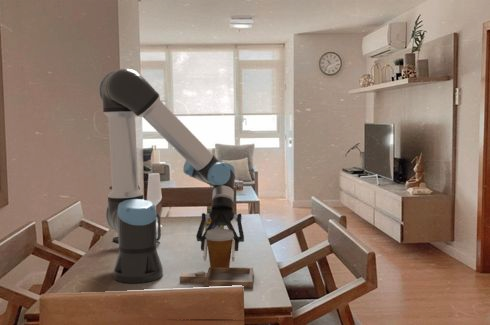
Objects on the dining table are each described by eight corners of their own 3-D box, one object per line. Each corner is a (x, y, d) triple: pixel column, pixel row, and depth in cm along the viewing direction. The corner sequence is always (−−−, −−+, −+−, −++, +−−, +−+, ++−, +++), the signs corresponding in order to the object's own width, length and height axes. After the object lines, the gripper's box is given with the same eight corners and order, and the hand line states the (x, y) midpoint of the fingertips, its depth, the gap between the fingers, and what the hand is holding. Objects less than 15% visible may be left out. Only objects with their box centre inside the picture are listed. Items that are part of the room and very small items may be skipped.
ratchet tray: (176, 287, 154) (176, 279, 153) (184, 273, 168) (184, 266, 167) (252, 288, 153) (252, 280, 153) (253, 273, 167) (253, 266, 167)
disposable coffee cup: (230, 272, 168) (230, 235, 166) (201, 270, 169) (201, 234, 168) (237, 264, 177) (237, 229, 176) (209, 262, 179) (209, 227, 178)
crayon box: (205, 237, 217) (204, 209, 216) (207, 235, 219) (207, 208, 218) (222, 238, 215) (221, 210, 214) (224, 236, 218) (223, 209, 217)
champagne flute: (144, 226, 237) (143, 174, 235) (154, 224, 243) (153, 172, 241) (155, 228, 234) (154, 175, 231) (165, 225, 239) (164, 173, 237)
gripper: (253, 208, 186) (251, 265, 172) (193, 207, 187) (187, 264, 173) (252, 195, 181) (251, 253, 166) (191, 195, 182) (184, 252, 167)
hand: (218, 258), depth 170 cm, fingers closed on disposable coffee cup, 8 cm apart
